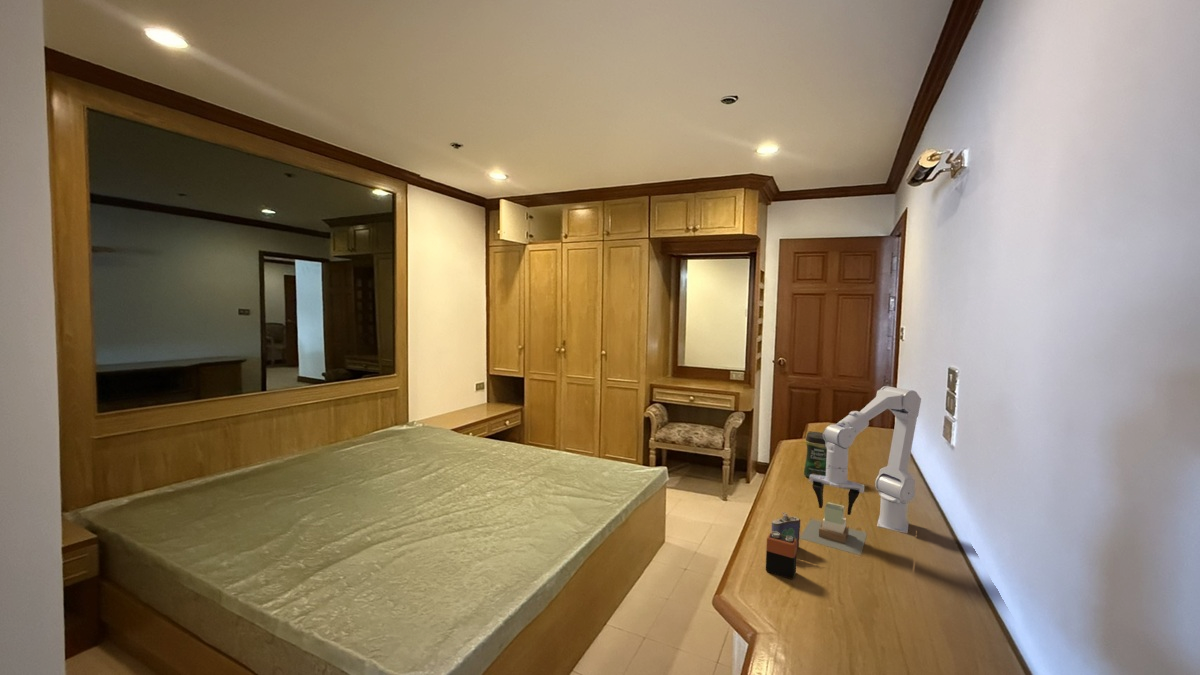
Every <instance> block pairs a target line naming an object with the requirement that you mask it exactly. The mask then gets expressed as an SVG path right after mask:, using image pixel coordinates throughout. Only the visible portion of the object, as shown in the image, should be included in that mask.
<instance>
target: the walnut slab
mask: <svg viewBox="0 0 1200 675" xmlns="http://www.w3.org/2000/svg"><path fill="white" fill-rule="evenodd" d="M822 525H823V521H822V524H821V526H820V528H819V537H822V538H825V539H829V540H833V541H836V542H840V543H844V544H845V542H846V540H847V537H848V534H849V527H850V526H849V525H846V527H845V530H844V532H843V534H842V533H838V532H834V531H831V530H827V529H823V528H822Z"/></svg>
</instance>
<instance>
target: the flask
mask: <svg viewBox="0 0 1200 675" xmlns="http://www.w3.org/2000/svg"><path fill="white" fill-rule="evenodd" d="M800 530H801V519H800V518H799V517H797V516H793V515H792V516H788V513H787V512H785V511H784V512H782V517H781V518H777V519H774V520H772V521H771V531H770V533H771V532H772V531H777V532H779V533H780V534H781V535H785V536H791V537H793V538H796V539H797V550H799V547H800V539H799V538H800Z"/></svg>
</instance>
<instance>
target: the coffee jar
mask: <svg viewBox="0 0 1200 675" xmlns="http://www.w3.org/2000/svg"><path fill="white" fill-rule="evenodd" d="M823 433H824V432H819V431H813V430H809V431H807V434H806V436H805V444H806V455H805V456H806V457H805V463H804V469H803V470H804V471H803V475H804V477H806V478H808V479H809V476H810V475H811V474H813V475H821V476H826V458H827V448H826V446H825V440H824V439H823Z"/></svg>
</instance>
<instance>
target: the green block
mask: <svg viewBox="0 0 1200 675" xmlns="http://www.w3.org/2000/svg"><path fill="white" fill-rule="evenodd" d="M844 510H845V505H841V504H837V503H833V502H827V503H826V505H825V506H824V517H823V519H824V520H825V521H829V522H833V523H837V524H842V521H843V519H844V518H845V515H844V514H845V513H844V512H845V511H844Z"/></svg>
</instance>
